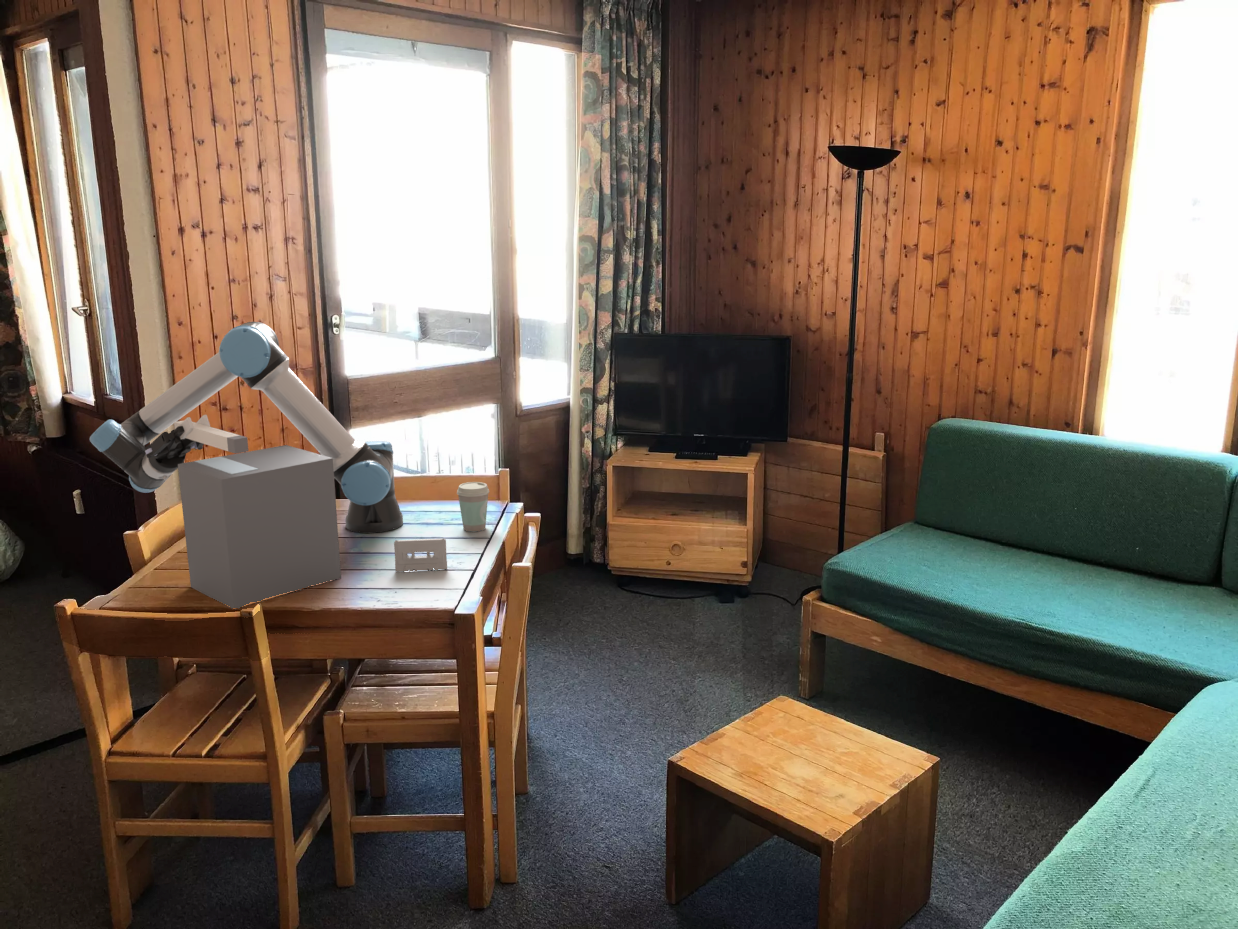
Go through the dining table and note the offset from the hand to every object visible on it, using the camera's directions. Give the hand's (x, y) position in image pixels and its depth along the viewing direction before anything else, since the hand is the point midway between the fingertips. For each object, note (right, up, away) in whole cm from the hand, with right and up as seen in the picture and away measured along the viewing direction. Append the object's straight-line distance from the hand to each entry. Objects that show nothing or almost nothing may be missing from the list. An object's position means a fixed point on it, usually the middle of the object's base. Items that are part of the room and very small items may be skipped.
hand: (198, 421), depth 222 cm
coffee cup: (+55, -27, +46) cm, 76 cm away
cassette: (+47, -35, +14) cm, 60 cm away
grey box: (+13, -36, +6) cm, 39 cm away
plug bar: (+4, -5, -2) cm, 6 cm away
